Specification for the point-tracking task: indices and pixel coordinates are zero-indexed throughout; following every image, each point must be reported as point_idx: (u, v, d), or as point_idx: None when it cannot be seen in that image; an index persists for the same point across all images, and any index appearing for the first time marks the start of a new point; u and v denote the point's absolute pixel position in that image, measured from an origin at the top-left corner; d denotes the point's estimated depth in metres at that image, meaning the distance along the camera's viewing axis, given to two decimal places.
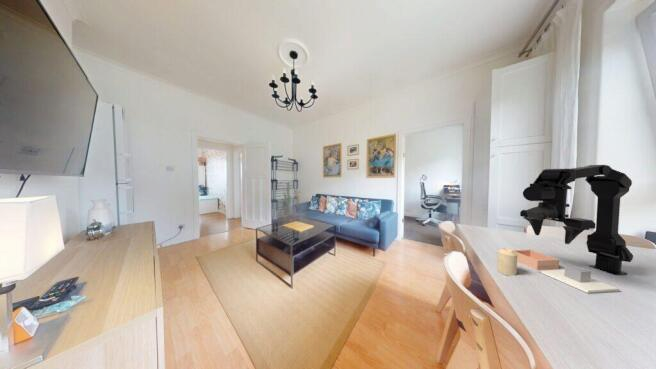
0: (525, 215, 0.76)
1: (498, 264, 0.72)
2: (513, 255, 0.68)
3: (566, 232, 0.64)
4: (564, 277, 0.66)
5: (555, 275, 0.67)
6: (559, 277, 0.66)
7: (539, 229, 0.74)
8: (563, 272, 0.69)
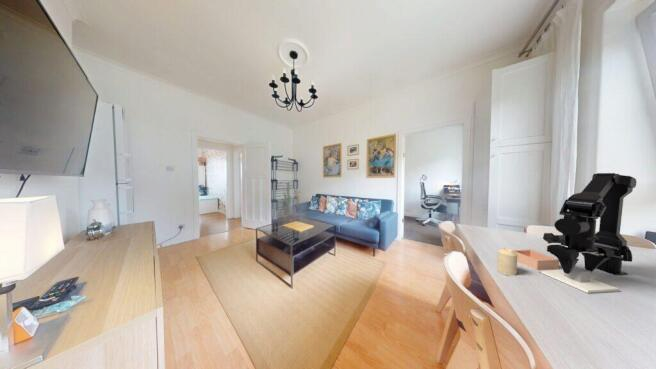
0: None
1: (498, 264, 0.72)
2: (513, 255, 0.68)
3: None
4: (564, 277, 0.66)
5: (555, 275, 0.67)
6: (559, 277, 0.66)
7: (591, 266, 0.64)
8: (563, 272, 0.69)
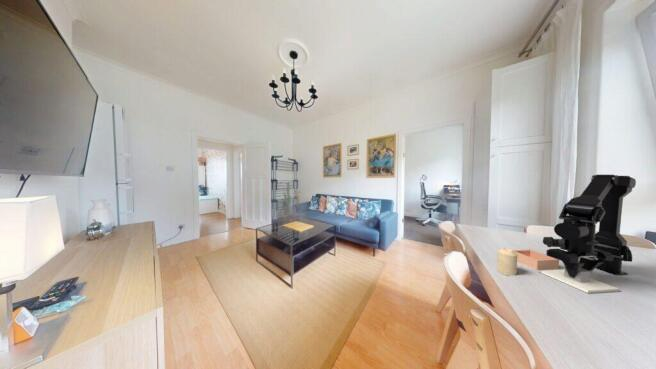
0: None
1: (498, 264, 0.72)
2: (513, 255, 0.68)
3: None
4: (564, 277, 0.66)
5: (555, 275, 0.67)
6: (559, 277, 0.66)
7: None
8: (563, 272, 0.69)
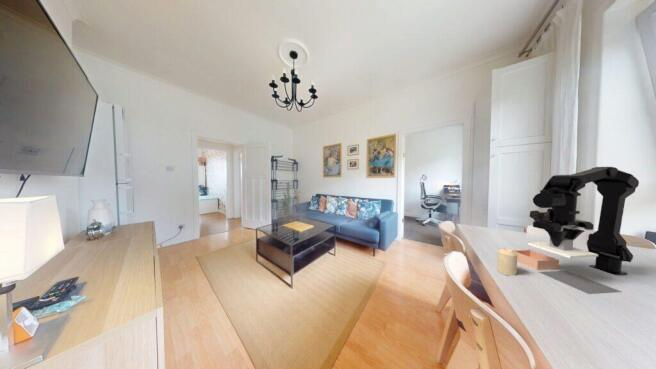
0: None
1: (498, 264, 0.72)
2: (513, 255, 0.68)
3: None
4: (549, 247, 0.70)
5: (541, 246, 0.71)
6: (544, 247, 0.70)
7: None
8: (548, 243, 0.73)
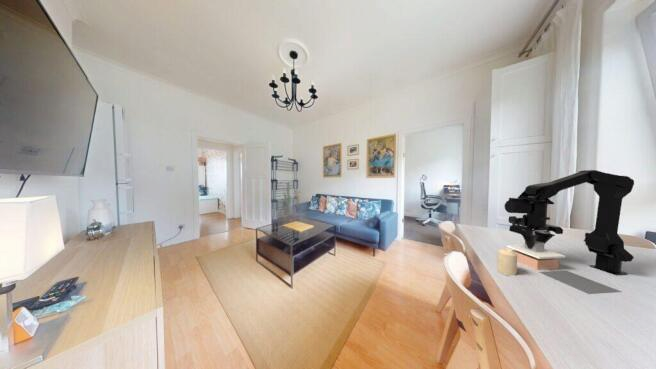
0: None
1: (498, 264, 0.72)
2: (513, 255, 0.68)
3: None
4: (524, 249, 0.78)
5: (517, 248, 0.79)
6: (520, 249, 0.78)
7: None
8: (525, 246, 0.81)
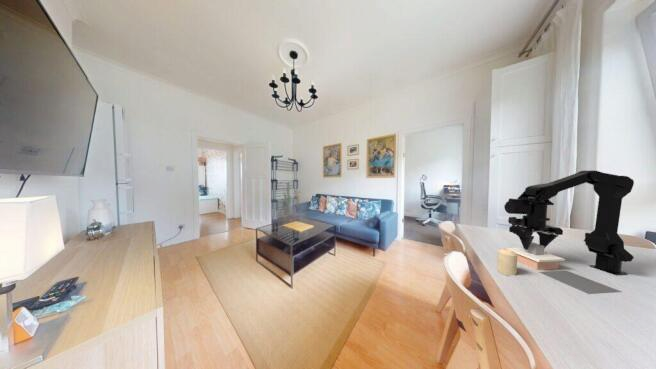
0: None
1: (498, 264, 0.72)
2: (513, 255, 0.68)
3: None
4: (524, 252, 0.78)
5: (517, 250, 0.80)
6: (519, 252, 0.78)
7: (544, 243, 0.77)
8: None
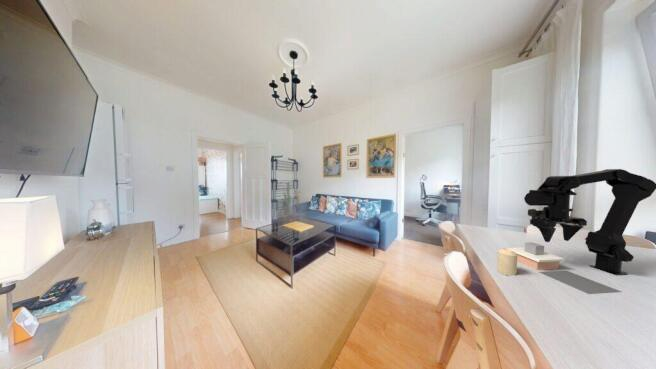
0: None
1: (498, 264, 0.72)
2: (513, 255, 0.68)
3: None
4: (524, 252, 0.78)
5: (517, 250, 0.80)
6: (519, 252, 0.78)
7: (568, 235, 0.74)
8: None
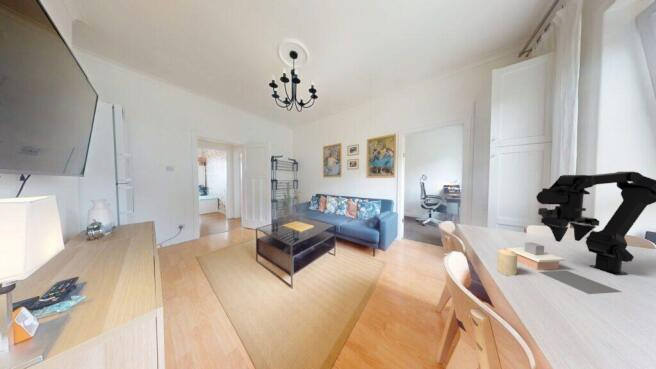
0: None
1: (498, 264, 0.72)
2: (513, 255, 0.68)
3: None
4: (524, 252, 0.78)
5: (517, 250, 0.80)
6: (519, 252, 0.78)
7: (580, 235, 0.73)
8: None
